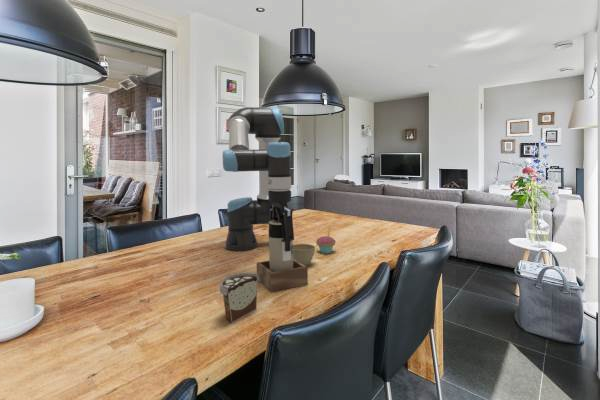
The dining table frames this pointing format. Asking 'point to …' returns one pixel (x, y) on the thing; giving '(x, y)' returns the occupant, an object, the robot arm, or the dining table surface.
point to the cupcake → (325, 243)
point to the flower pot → (303, 253)
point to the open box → (282, 276)
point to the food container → (239, 295)
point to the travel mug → (277, 248)
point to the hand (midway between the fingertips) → (281, 256)
